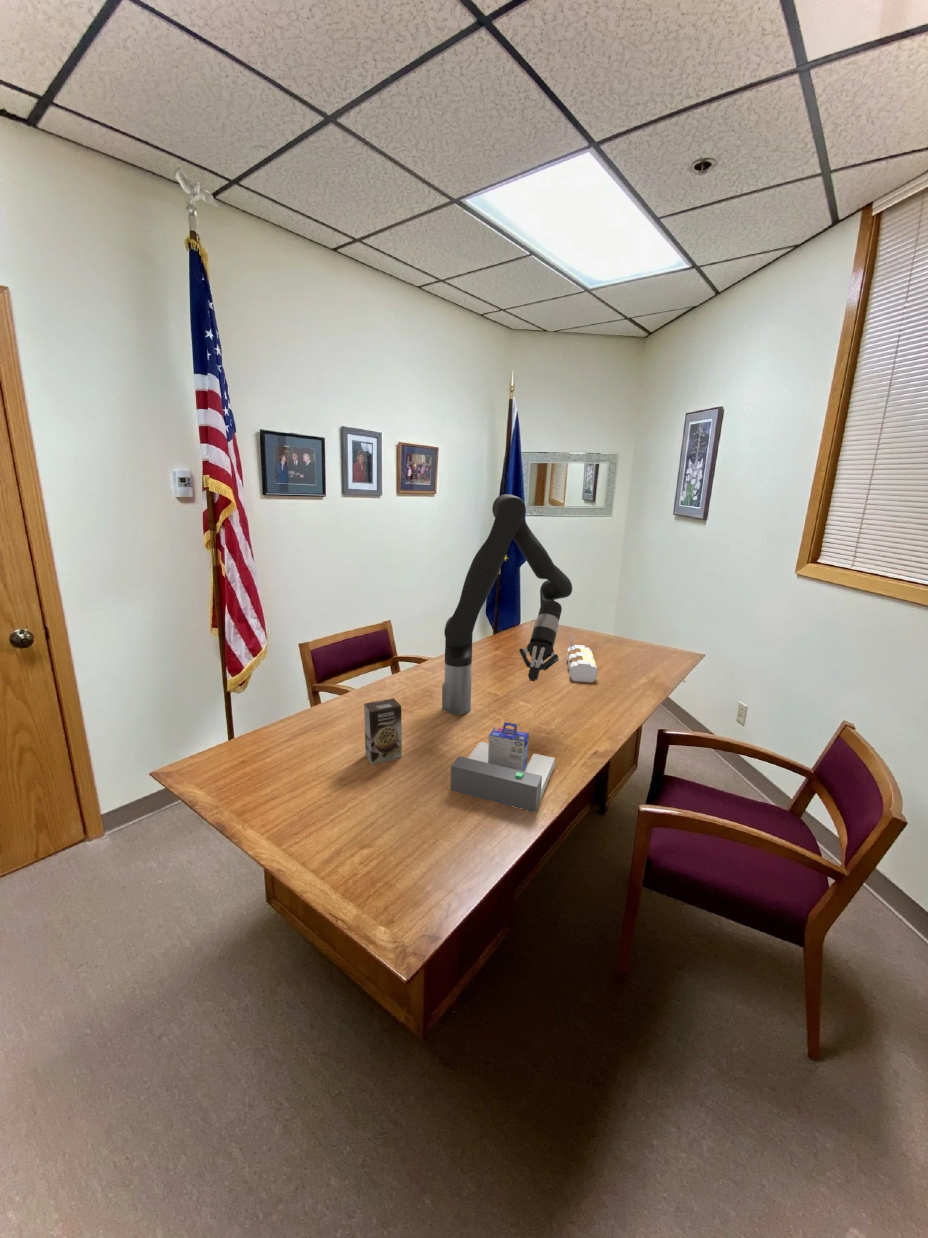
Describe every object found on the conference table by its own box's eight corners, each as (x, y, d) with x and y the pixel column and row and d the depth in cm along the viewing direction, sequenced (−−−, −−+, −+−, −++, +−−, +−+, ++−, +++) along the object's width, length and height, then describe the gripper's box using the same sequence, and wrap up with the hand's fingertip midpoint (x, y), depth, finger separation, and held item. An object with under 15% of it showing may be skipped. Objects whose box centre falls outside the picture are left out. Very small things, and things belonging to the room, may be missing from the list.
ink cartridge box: (527, 772, 130) (530, 724, 127) (523, 784, 125) (526, 733, 122) (492, 765, 134) (494, 718, 130) (486, 776, 128) (488, 727, 125)
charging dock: (450, 790, 122) (450, 763, 120) (479, 750, 141) (480, 727, 139) (535, 812, 114) (537, 784, 112) (554, 767, 133) (556, 743, 131)
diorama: (566, 660, 219) (568, 633, 215) (589, 662, 217) (592, 634, 214) (569, 681, 195) (572, 650, 191) (596, 683, 193) (598, 652, 190)
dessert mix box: (371, 765, 133) (369, 712, 128) (364, 754, 138) (362, 702, 134) (402, 758, 137) (401, 705, 132) (395, 747, 142) (394, 697, 138)
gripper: (523, 622, 154) (509, 671, 146) (564, 628, 149) (552, 679, 141) (526, 633, 160) (513, 681, 153) (566, 639, 155) (554, 689, 148)
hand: (532, 680), depth 147 cm, fingers closed
